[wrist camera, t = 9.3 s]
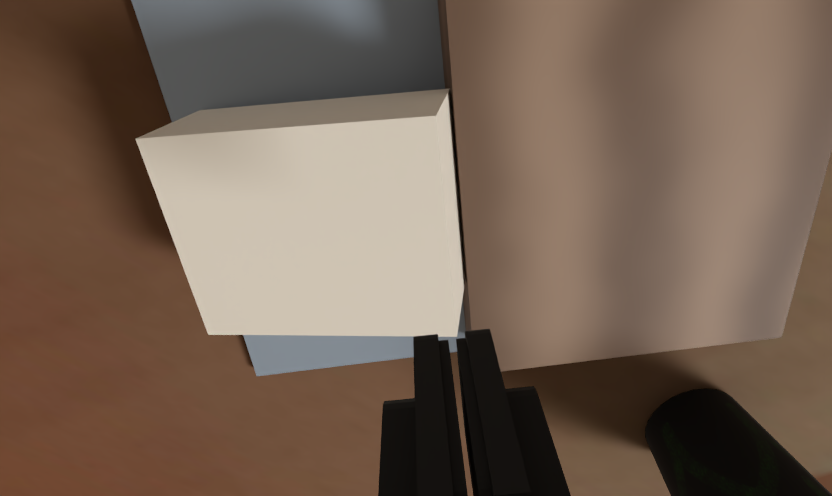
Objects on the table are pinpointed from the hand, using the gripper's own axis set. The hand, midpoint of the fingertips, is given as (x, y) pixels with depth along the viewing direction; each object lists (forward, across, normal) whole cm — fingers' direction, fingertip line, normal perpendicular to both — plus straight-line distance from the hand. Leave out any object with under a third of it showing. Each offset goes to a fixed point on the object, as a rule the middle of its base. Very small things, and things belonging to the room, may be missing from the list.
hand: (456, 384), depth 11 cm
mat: (+13, +4, 0) cm, 13 cm away
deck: (+13, -8, 0) cm, 15 cm away
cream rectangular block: (+11, +4, 0) cm, 12 cm away
